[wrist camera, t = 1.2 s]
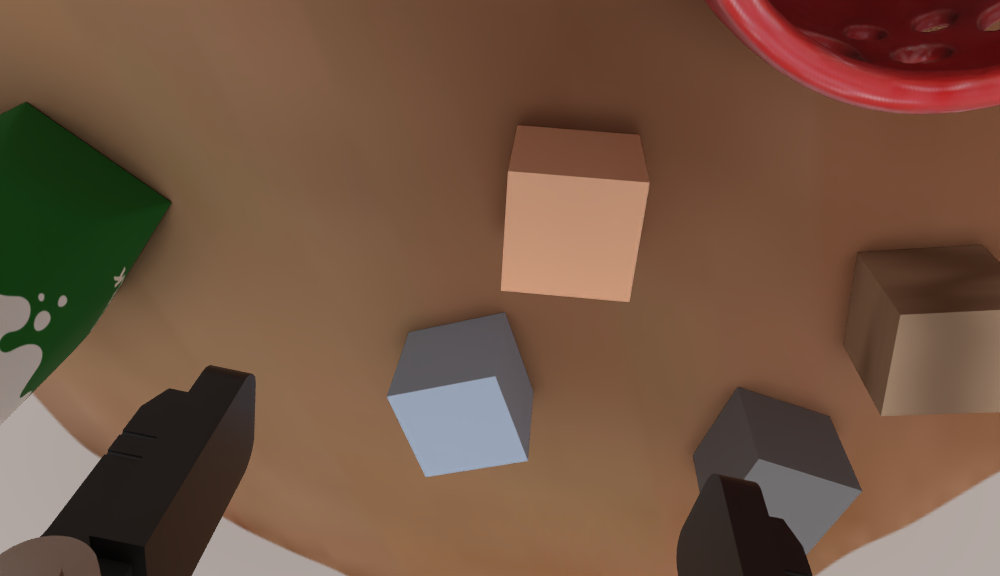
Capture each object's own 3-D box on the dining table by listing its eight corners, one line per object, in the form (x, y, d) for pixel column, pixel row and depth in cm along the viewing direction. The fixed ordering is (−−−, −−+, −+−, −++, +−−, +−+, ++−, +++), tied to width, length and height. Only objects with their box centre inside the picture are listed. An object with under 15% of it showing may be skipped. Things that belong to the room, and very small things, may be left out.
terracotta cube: (639, 134, 30) (649, 182, 26) (622, 241, 32) (629, 302, 28) (517, 124, 30) (508, 170, 26) (510, 232, 33) (501, 290, 28)
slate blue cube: (505, 311, 35) (495, 376, 31) (533, 390, 37) (527, 460, 33) (409, 331, 36) (386, 396, 32) (442, 406, 38) (425, 477, 34)
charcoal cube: (829, 415, 36) (862, 491, 32) (778, 480, 39) (803, 558, 35) (737, 385, 36) (758, 458, 32) (692, 454, 39) (706, 529, 34)
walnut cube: (981, 243, 31) (1045, 307, 27) (957, 339, 33) (1012, 411, 29) (856, 251, 32) (900, 315, 27) (842, 344, 34) (881, 415, 30)
